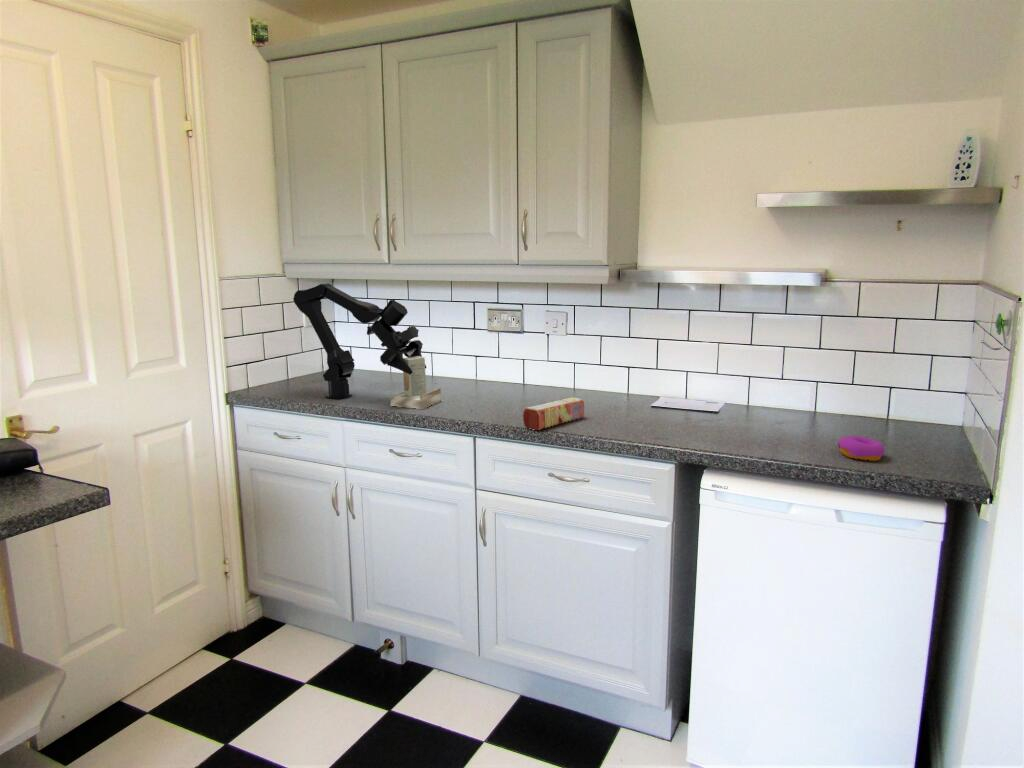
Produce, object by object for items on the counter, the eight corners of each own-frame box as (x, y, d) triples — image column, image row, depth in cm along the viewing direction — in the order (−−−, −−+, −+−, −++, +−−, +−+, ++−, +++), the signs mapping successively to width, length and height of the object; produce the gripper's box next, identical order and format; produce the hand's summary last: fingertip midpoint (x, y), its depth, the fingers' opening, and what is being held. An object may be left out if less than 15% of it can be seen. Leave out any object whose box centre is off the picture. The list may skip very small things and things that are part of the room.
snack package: (569, 415, 213) (569, 393, 212) (586, 419, 208) (587, 397, 207) (521, 429, 198) (521, 405, 197) (539, 433, 194) (539, 409, 192)
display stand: (390, 406, 225) (390, 392, 224) (409, 398, 236) (408, 385, 235) (423, 409, 221) (422, 395, 220) (440, 401, 232) (440, 388, 231)
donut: (885, 465, 164) (887, 446, 163) (838, 460, 168) (839, 442, 167) (880, 452, 174) (882, 435, 173) (836, 448, 177) (837, 431, 176)
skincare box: (420, 392, 231) (419, 355, 229) (427, 394, 228) (425, 357, 225) (403, 394, 228) (401, 357, 225) (409, 396, 224) (407, 359, 222)
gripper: (386, 321, 216) (419, 359, 214) (416, 315, 233) (447, 350, 231) (366, 345, 220) (398, 382, 219) (397, 338, 237) (426, 372, 235)
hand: (418, 370), depth 226 cm, fingers open, 9 cm apart
